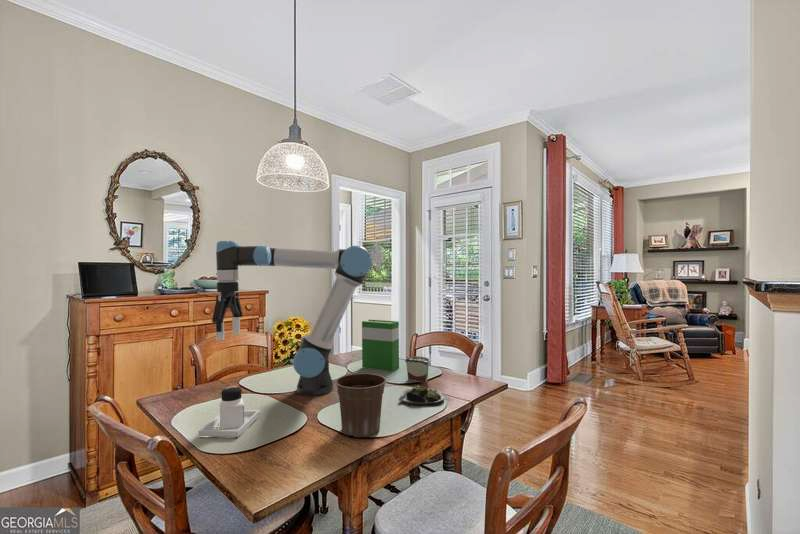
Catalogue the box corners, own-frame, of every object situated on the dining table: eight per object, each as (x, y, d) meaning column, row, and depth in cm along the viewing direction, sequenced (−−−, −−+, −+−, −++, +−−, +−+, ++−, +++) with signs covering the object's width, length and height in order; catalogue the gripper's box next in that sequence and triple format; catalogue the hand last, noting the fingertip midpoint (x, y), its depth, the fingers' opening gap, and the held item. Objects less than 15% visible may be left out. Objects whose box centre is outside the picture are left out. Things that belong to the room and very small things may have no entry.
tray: (260, 416, 133) (260, 410, 133) (238, 438, 116) (238, 431, 116) (225, 416, 133) (225, 410, 133) (198, 438, 116) (198, 430, 116)
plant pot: (371, 415, 133) (371, 370, 133) (396, 432, 119) (395, 381, 119) (328, 426, 124) (327, 377, 124) (348, 446, 110) (348, 391, 110)
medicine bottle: (244, 426, 123) (243, 389, 123) (220, 430, 120) (219, 393, 120) (242, 418, 130) (242, 383, 130) (219, 422, 127) (219, 386, 127)
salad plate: (397, 390, 160) (397, 379, 160) (439, 389, 161) (439, 378, 161) (398, 407, 141) (398, 395, 141) (446, 406, 141) (446, 394, 141)
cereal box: (362, 367, 195) (361, 321, 195) (369, 364, 202) (369, 319, 202) (392, 371, 187) (392, 323, 187) (399, 367, 194) (398, 321, 194)
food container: (435, 379, 173) (434, 358, 173) (428, 383, 168) (428, 361, 168) (412, 375, 180) (411, 355, 180) (405, 379, 175) (405, 357, 175)
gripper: (232, 280, 156) (233, 331, 156) (200, 283, 131) (201, 343, 131) (250, 280, 156) (251, 331, 156) (222, 282, 131) (223, 343, 131)
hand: (228, 337), depth 144 cm, fingers open, 13 cm apart
